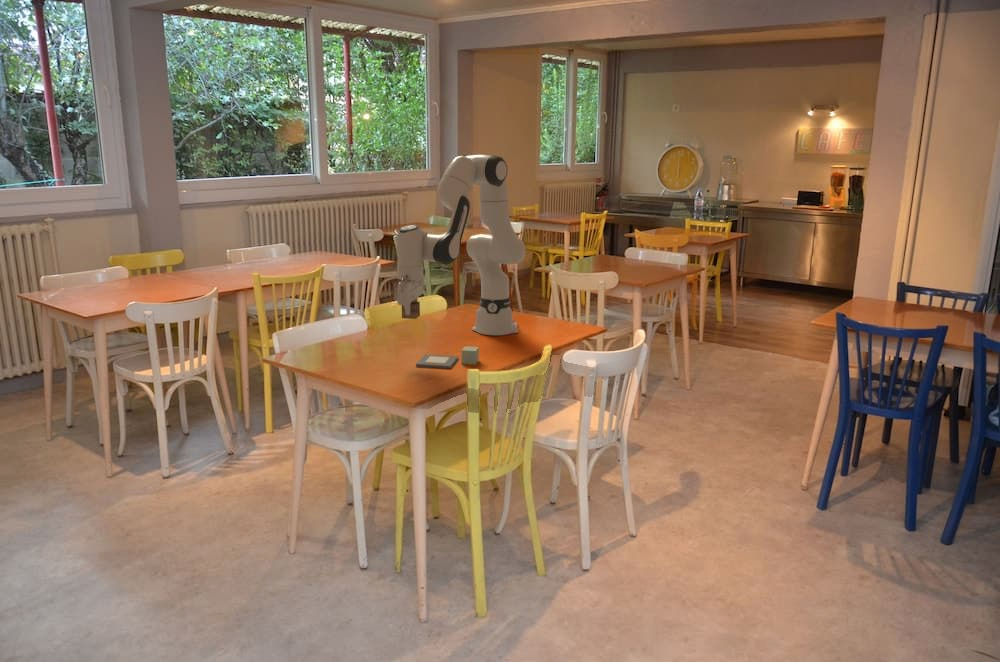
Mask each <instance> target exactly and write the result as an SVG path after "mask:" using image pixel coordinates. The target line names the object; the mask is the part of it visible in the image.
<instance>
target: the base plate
mask: <svg viewBox="0 0 1000 662" xmlns="http://www.w3.org/2000/svg"><path fill="white" fill-rule="evenodd" d="M457 359H458V360H459V356H458V355H445V354H429V353H427V354H424V355H422V357H421V358H420V359H419V360H418V361H417V362H416V364H415V367H416V368H430V367H439V368H438V369H446V368H451V369H452V367H454V365H455V363H456V362H457V361H458V360H457Z"/></svg>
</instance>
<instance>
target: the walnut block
mask: <svg viewBox="0 0 1000 662" xmlns="http://www.w3.org/2000/svg"><path fill="white" fill-rule="evenodd" d="M420 307H421V304H420V301H417V302H415V301H412V302H411V305H410V308H411V314H410V315H406V314H405V308H404V305H401V319H407V320H408V319H411V320H412V319H413V320H417V319H418V318H419V317H420V316H421V310H420V309H421V308H420Z"/></svg>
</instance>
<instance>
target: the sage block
mask: <svg viewBox="0 0 1000 662" xmlns="http://www.w3.org/2000/svg"><path fill="white" fill-rule="evenodd" d="M479 352H480V350H479V347H478V346H464V347H463V348H462V349H461V364H462V363H463V364H462V365H472V364H476V363H477V364H478V362H479V361H478V360H479V356H480V355H479ZM477 364H476V365H477Z"/></svg>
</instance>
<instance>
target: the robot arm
mask: <svg viewBox="0 0 1000 662" xmlns="http://www.w3.org/2000/svg"><path fill="white" fill-rule="evenodd" d="M507 176H508V164H507V163H506V161H505V159H504V158H503V157H502V156H499V155H496V154H494V155H489V154H481V153H480V154H462V155H459V156H456V157H454V158H453V159H452V160H451V162H450V163H449V164H448V166H447V168H446V169H445V170H444V173H443V174H442V177H441V179H440V181H439V182H438V185H437V188H436V195H437V198H438V200H439V202H440V203H441V204H442V205H443V206H444V207H445V208H446V209H448V210H449V211H451V215H450V216H451V217H450V220H449V224H448V227H447V231H446V232H444V233H442V234H437V233H432V232H427V231H424V230H423V229H422V228H421V227H420V226H419V225H417V224H410V225H409V224H407V225H404V226H401V227H400V228H399V229H398V231H397V233H396V234H397V235H396V236H397V237H396V255H397V263H396V273H397V275H396V277H397V279H398V280H400V282H398V284H397V290H396V291H397V293H396V300H397V301H396V302H397V305H399V306H402V305H404V308H405V314H406V315H410V314H411V308H410V305H411V302H412V301H415V302H419V301H418V299H419V297H420V296H422V295H423V294H424V290H425V289H424V288H425V275H426V271H427V270H426V268H425V267H424V263H423V261H426V262H432V263H433V262H434V263H438V264H441V265H445V266H448V265H449V266H450V265H452V264H453V263H455V261H456V260H457V259H458V258H459V256H460V252H461V244H462V238H463V235H464V232H465V228H466V224H467V221H468V218H469V213H470V209H471V205H470V200H469V199H468V197H469V193H470V191H471V188H472V186H473V185H475V186H476V185H477V186H479V194H478V197H479V218H480V221H481V223H482V224H483V225H485V226H486V227H487V229H489V232H490V233H478V234H477V233H476V234H472V235H471V236H470V237H469V238H468V239H467V242H466V247H465V248H466V253H467V255H468V257H470V259H471V260H472V261H473V262H474V263H475V265H476V267H477V269H478V272H479V277H480V287H481V288H480V290H481V291H480V293H481V295H480V297H479V306H480V307H479V308H478V309H477V310H476V312H475V313H476V315H475V325H474V326H472V328H471V331H473V332H477V333H479V334H481V335H485V336H486V335H487V336H506V335H510V334H516V333H519V331H518V330H519V329H518V324H517V321H515V320H514V312H513V310H512V308H511V307H510V306H511V297H510V278H509V276H508V275H507V274H506V273H505V271H503V270H502V269H501V267H500V264H502V265H515V264H516V265H517V264H520V263H521V262H522V261H523V259H524V258H525V256H526V246H525V242H524V241H523V240H522V239H521V238H520V237H519V236H518V235H517V234H516V232H515V230H514V228H513V226H512V223H511V219H510V211H509V209H510V208H509V191H508V185H507V181H506V178H507Z"/></svg>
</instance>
